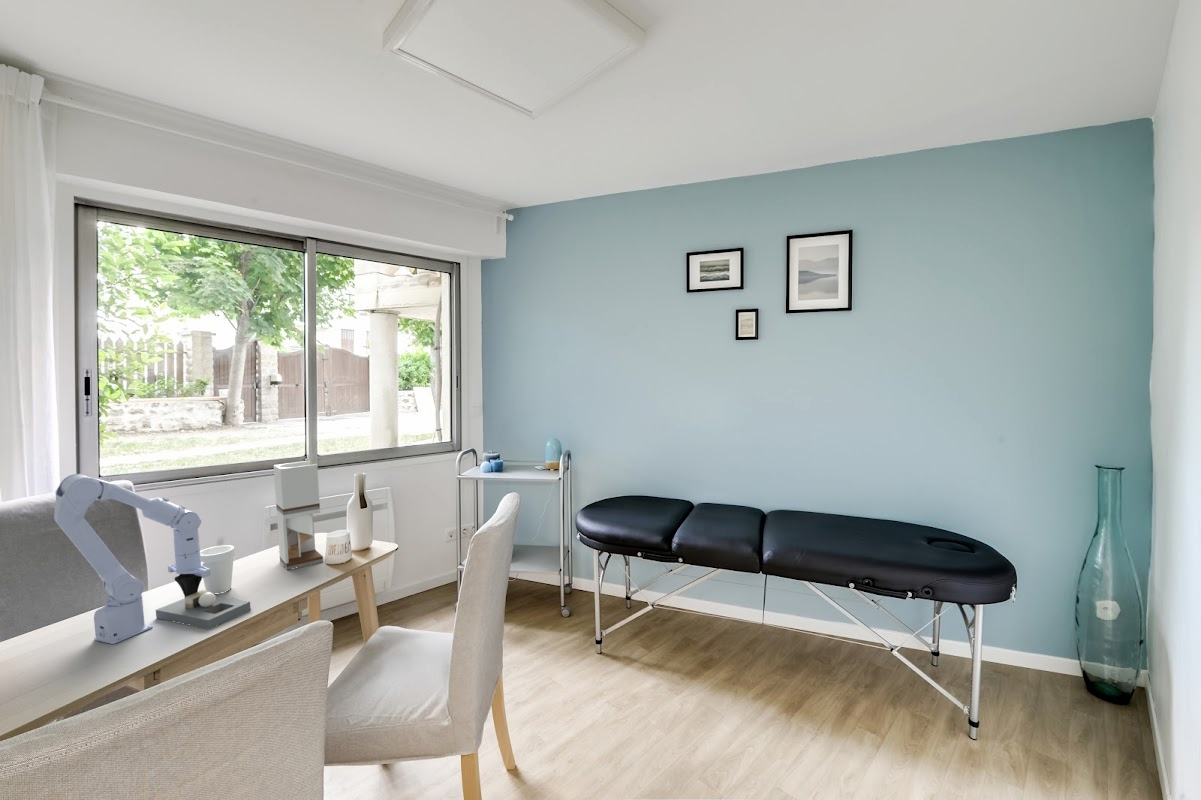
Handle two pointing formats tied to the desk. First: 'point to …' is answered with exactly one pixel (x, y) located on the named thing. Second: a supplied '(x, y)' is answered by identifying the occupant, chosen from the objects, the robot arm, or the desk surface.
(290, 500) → the white coffee grinder
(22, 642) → the desk surface
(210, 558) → the foam cup
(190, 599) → the cream rectangular block
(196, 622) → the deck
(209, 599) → the ball
